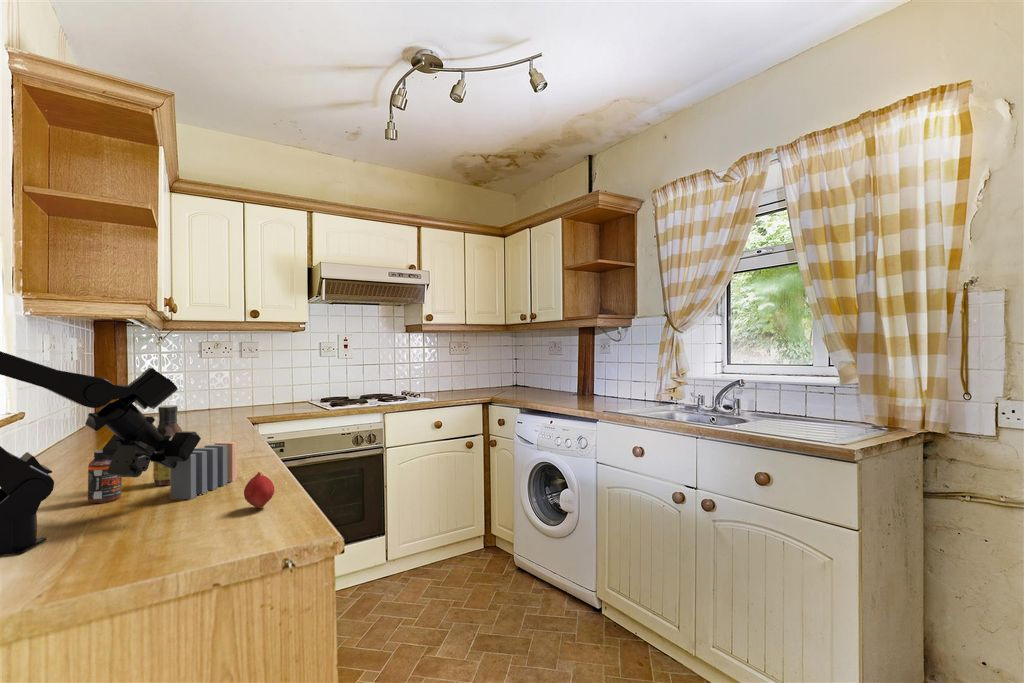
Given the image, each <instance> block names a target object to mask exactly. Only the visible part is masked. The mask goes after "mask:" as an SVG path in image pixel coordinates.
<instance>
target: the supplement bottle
mask: <svg viewBox="0 0 1024 683" xmlns="http://www.w3.org/2000/svg"><path fill="white" fill-rule="evenodd" d="M110 463H111V460H108V459H107V458H106V457H104V456H103V449H99V450H95V451H94V453H93V460H92V461H90V462H89V463H88V468H87V501H88V503H91V504H103V503H102V502H105V503H110V502H113V500H114V501H116V500H119V499H120V498H121V497H122V479H123V477H121V476H116V475H112V474H109V473H108V468H109V465H110ZM109 501H110V502H109Z"/></svg>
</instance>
